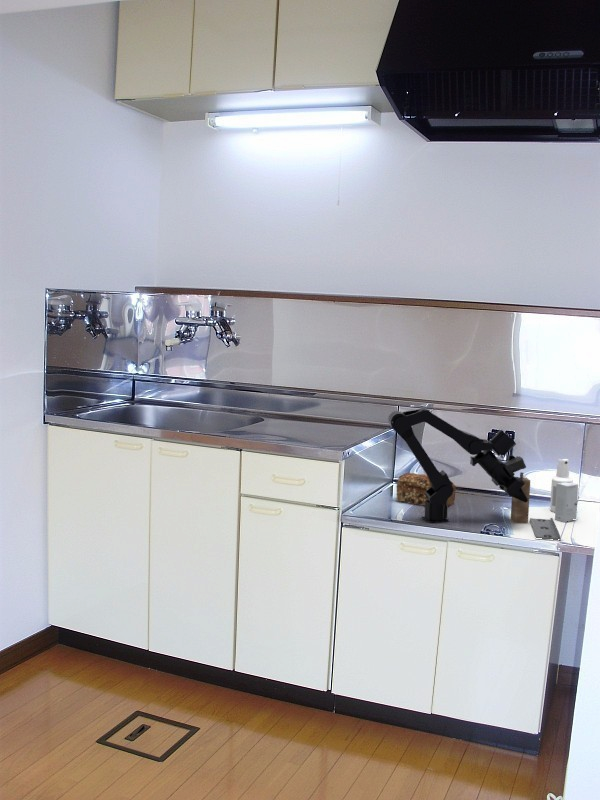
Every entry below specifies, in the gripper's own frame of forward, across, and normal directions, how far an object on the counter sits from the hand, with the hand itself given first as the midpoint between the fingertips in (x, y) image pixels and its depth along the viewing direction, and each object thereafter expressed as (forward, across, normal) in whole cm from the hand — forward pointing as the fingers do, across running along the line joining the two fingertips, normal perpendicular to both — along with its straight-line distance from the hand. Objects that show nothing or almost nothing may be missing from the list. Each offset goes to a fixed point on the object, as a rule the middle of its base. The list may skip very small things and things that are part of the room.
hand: (524, 499), depth 269 cm
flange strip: (+7, -11, +3) cm, 13 cm away
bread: (-14, +24, +25) cm, 37 cm away
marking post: (+4, 0, +6) cm, 7 cm away
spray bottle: (+17, +14, -7) cm, 23 cm away
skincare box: (+16, +2, -5) cm, 17 cm away
